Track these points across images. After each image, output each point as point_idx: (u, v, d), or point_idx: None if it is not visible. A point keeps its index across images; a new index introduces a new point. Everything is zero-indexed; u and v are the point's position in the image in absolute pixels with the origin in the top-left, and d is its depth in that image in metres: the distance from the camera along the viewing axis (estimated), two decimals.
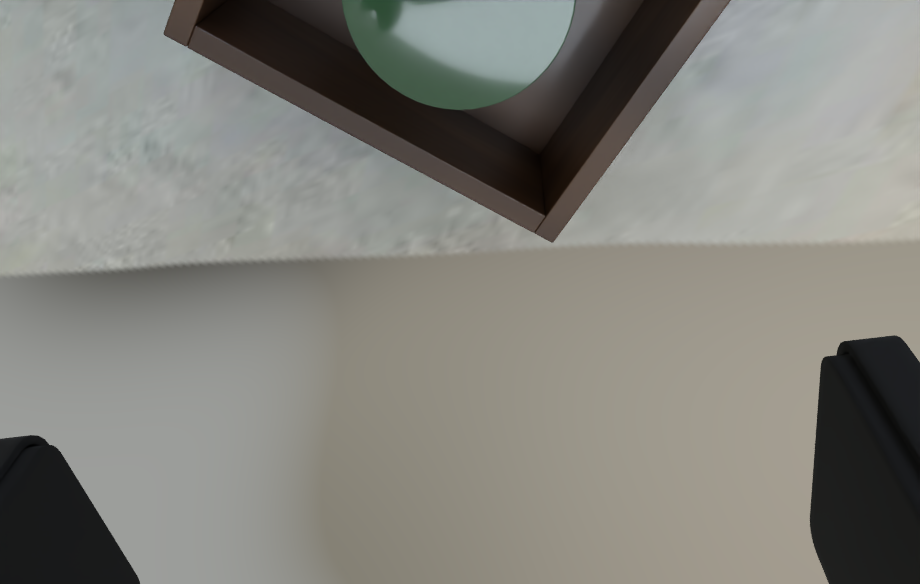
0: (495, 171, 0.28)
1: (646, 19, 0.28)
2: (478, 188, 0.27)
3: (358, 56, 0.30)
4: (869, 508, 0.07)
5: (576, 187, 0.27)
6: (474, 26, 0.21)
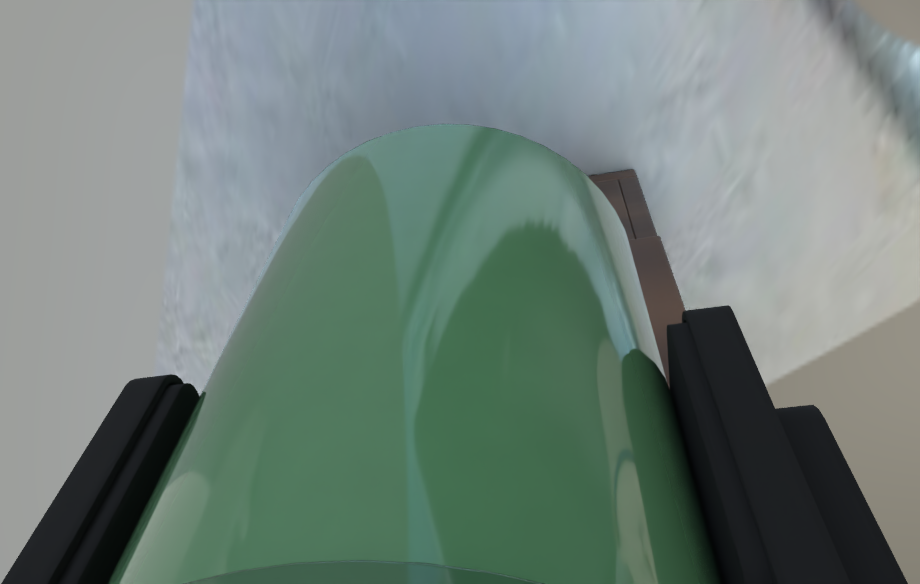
0: None
1: None
2: None
3: None
4: (692, 456, 0.08)
5: None
6: None
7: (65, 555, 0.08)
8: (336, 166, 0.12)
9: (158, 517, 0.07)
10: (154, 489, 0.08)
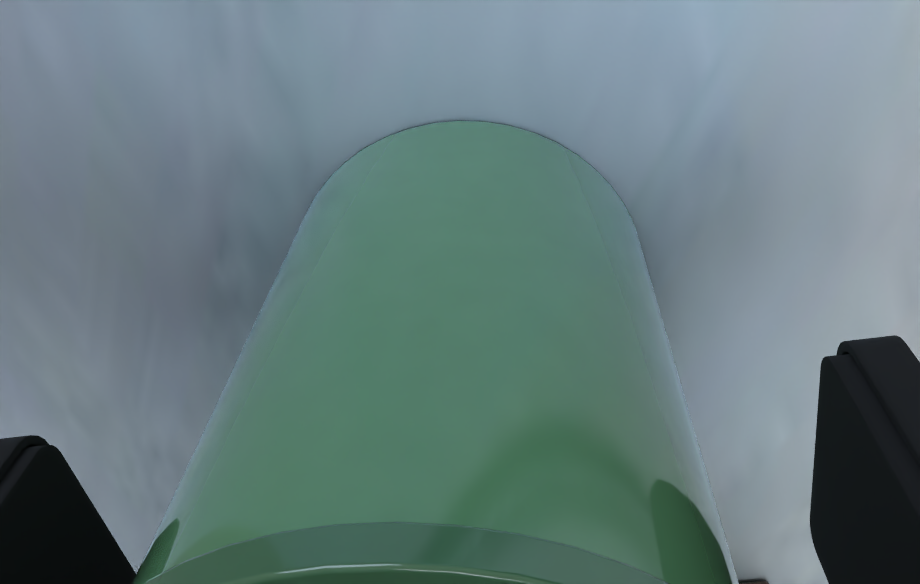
0: None
1: None
2: None
3: None
4: (869, 508, 0.07)
5: None
6: None
7: None
8: (355, 161, 0.12)
9: (196, 489, 0.07)
10: (188, 466, 0.08)
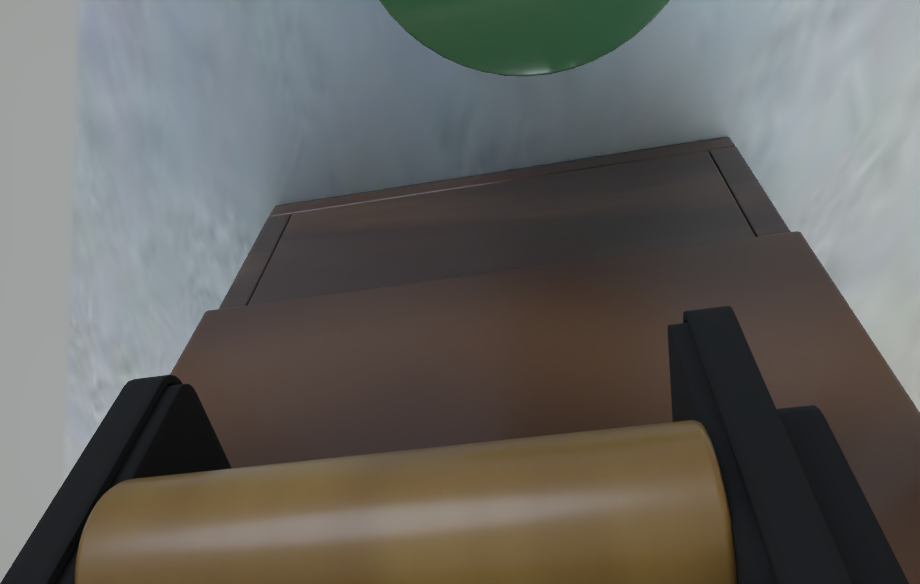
0: None
1: None
2: None
3: None
4: None
5: None
6: None
7: (64, 556, 0.08)
8: None
9: None
10: None
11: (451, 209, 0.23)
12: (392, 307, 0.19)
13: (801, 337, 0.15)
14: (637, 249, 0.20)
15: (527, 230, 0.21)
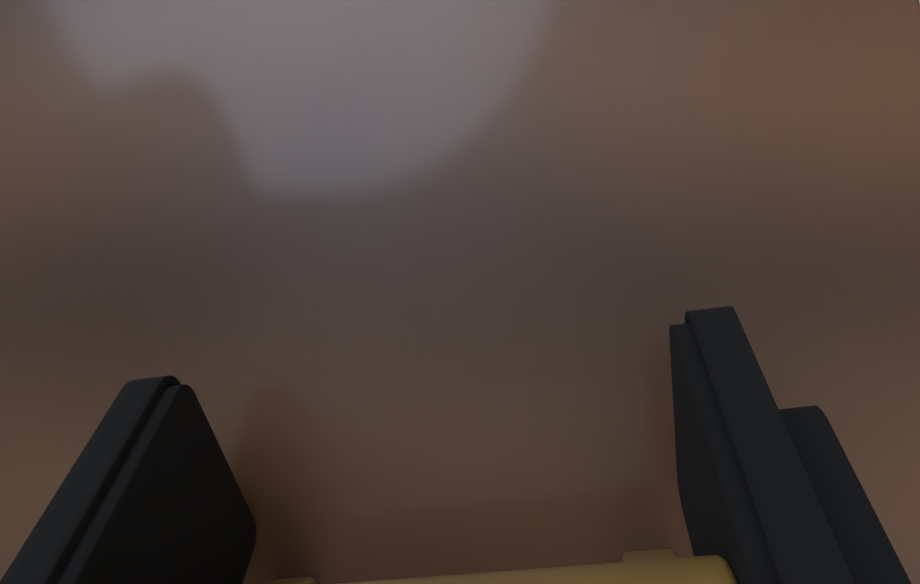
0: None
1: None
2: None
3: None
4: (695, 457, 0.08)
5: None
6: None
7: (62, 557, 0.08)
8: None
9: None
10: None
11: None
12: None
13: (838, 33, 0.11)
14: None
15: None
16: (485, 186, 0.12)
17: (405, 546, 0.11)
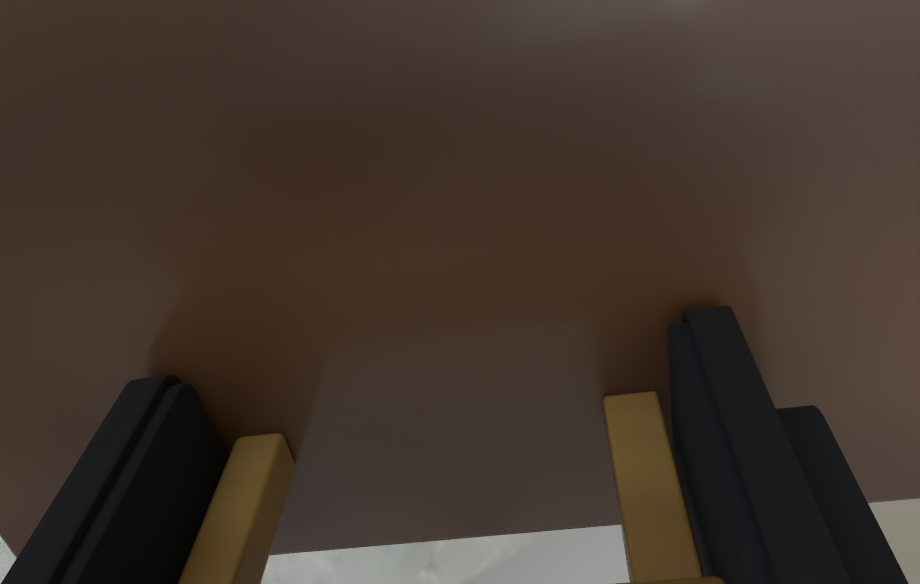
0: None
1: None
2: None
3: None
4: (693, 456, 0.08)
5: None
6: None
7: (64, 555, 0.08)
8: None
9: None
10: None
11: None
12: None
13: None
14: None
15: None
16: None
17: (370, 402, 0.10)
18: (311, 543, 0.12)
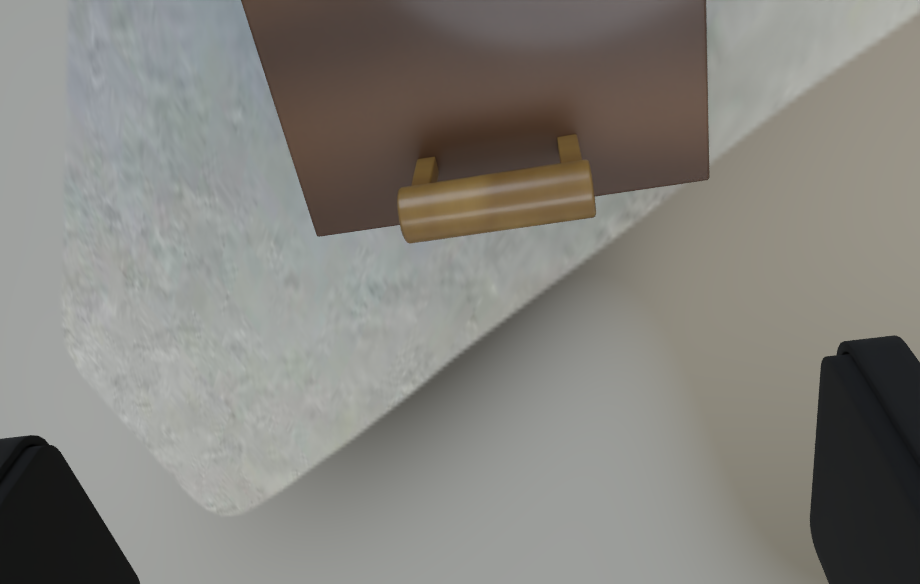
0: None
1: None
2: None
3: None
4: (869, 508, 0.07)
5: None
6: None
7: None
8: None
9: None
10: None
11: None
12: None
13: None
14: None
15: None
16: None
17: (469, 141, 0.28)
18: None
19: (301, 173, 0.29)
